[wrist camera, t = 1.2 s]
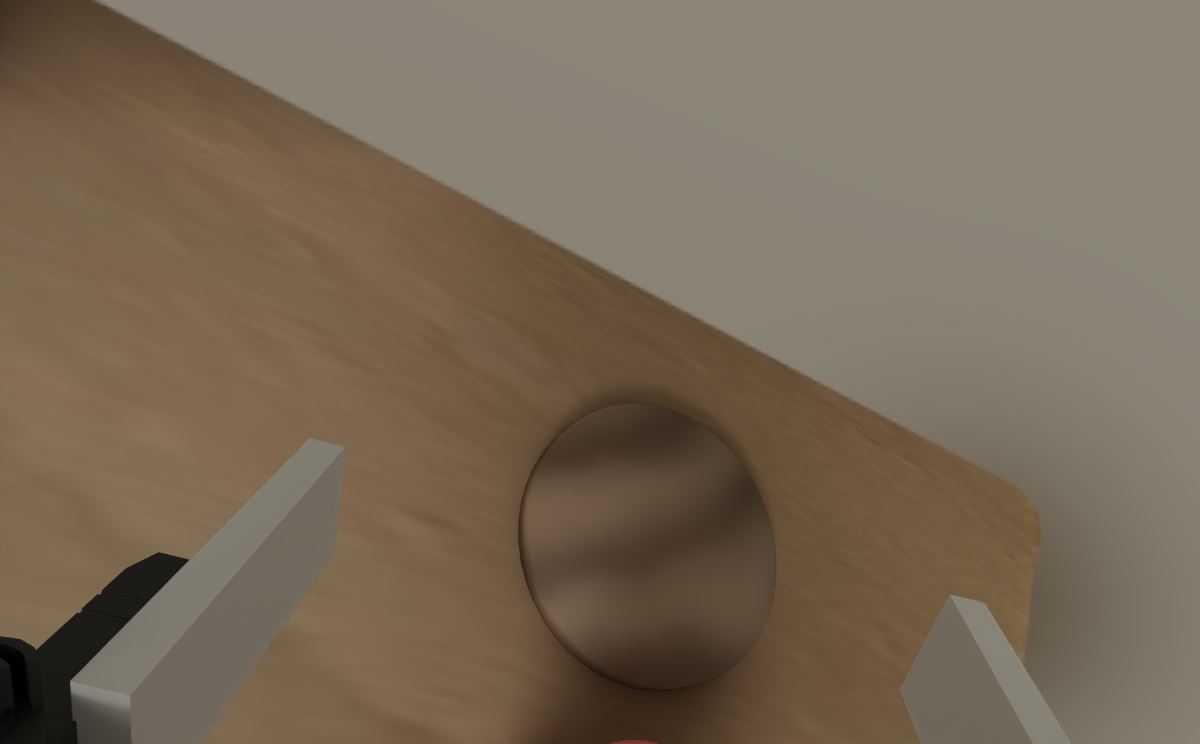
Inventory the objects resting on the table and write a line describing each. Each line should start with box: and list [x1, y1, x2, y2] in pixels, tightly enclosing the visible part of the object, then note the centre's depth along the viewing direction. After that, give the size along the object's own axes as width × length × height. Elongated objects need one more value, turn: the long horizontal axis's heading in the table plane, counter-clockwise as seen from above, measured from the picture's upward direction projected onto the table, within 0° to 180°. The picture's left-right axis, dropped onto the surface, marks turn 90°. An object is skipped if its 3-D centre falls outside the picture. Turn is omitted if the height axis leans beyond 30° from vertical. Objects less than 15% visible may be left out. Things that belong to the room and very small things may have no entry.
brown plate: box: [518, 404, 776, 690], centre depth 42 cm, size 16×16×2 cm
